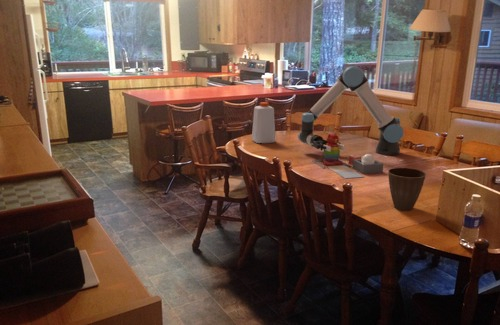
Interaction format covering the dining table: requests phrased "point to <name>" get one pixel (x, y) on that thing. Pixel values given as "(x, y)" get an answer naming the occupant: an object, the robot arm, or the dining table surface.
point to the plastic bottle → (263, 124)
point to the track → (342, 170)
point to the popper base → (367, 167)
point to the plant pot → (405, 187)
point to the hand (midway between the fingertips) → (336, 148)
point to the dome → (368, 159)
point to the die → (353, 159)
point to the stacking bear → (332, 151)
